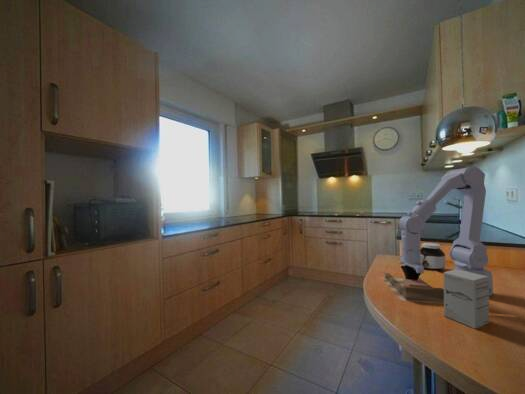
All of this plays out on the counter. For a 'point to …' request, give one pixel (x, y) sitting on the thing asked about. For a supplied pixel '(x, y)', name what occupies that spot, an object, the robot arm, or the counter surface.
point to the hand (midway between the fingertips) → (411, 287)
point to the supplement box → (466, 297)
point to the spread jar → (432, 257)
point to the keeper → (414, 283)
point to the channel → (414, 291)
